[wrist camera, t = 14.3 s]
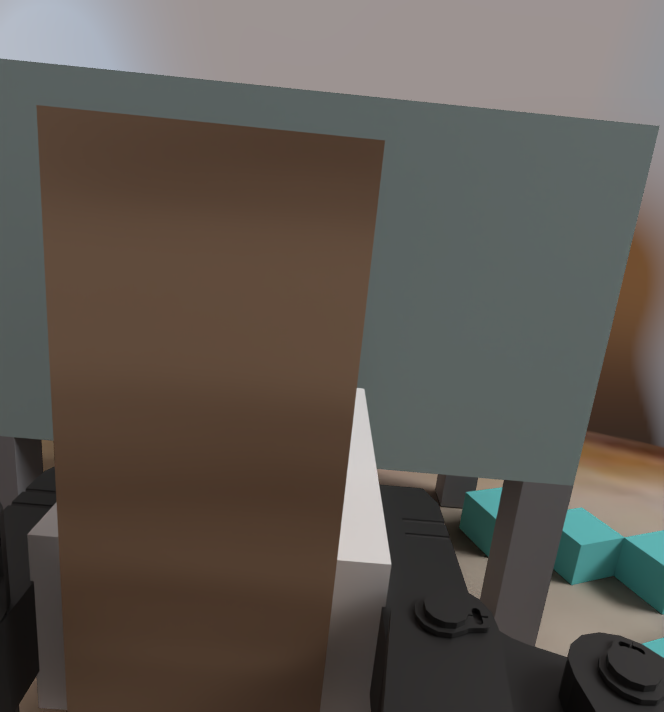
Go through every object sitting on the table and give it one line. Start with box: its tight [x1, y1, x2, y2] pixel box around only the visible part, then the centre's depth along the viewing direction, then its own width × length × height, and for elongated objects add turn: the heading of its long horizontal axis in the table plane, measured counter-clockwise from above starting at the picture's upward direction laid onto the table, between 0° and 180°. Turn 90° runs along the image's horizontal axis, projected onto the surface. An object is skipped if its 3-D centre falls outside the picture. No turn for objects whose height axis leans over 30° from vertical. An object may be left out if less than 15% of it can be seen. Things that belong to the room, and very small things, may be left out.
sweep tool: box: [36, 105, 385, 712], centre depth 17 cm, size 22×9×14 cm, turn 0°
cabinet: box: [0, 59, 659, 647], centre depth 21 cm, size 18×10×16 cm, turn 90°
